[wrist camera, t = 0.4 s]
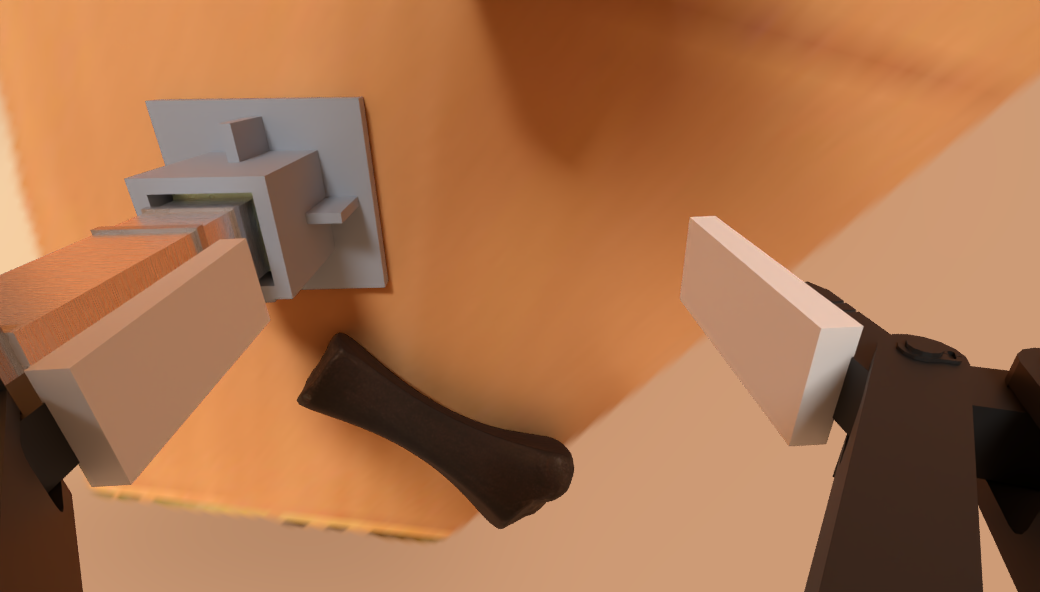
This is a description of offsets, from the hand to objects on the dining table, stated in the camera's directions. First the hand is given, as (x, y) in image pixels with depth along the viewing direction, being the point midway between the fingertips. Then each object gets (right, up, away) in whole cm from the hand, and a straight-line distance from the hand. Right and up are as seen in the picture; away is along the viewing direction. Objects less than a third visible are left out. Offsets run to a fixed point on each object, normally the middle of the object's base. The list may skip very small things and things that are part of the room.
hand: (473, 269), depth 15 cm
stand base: (-19, +8, +27) cm, 34 cm away
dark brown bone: (-7, -13, +39) cm, 41 cm away
